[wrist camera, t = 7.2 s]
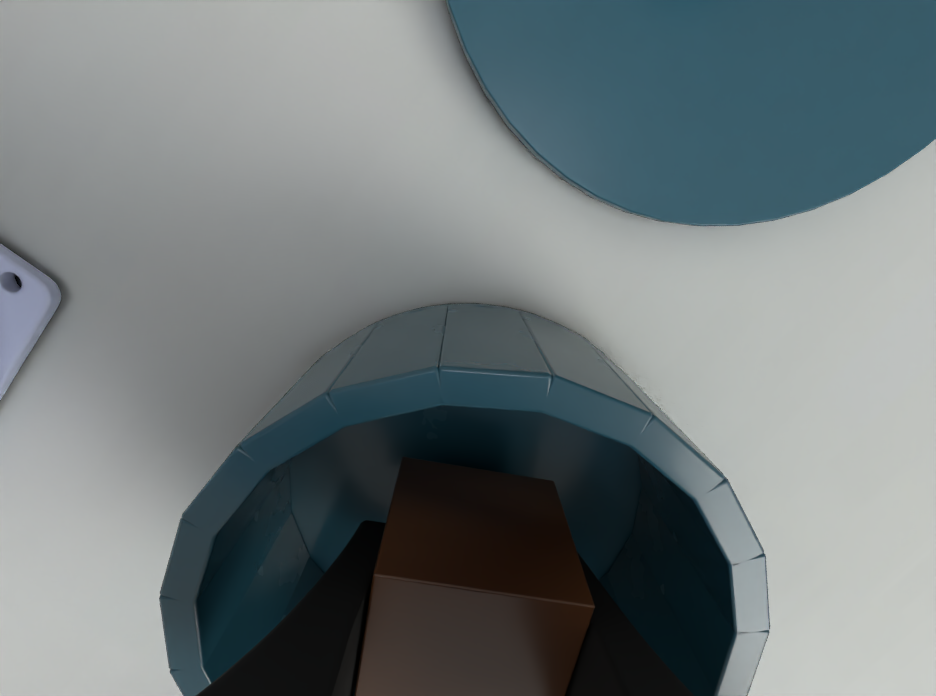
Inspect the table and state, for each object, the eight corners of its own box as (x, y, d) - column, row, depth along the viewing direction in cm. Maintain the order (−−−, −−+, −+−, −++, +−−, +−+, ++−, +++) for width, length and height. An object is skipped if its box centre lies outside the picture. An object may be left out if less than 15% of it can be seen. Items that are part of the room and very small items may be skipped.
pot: (198, 509, 14) (50, 679, 9) (440, 209, 12) (422, 212, 7) (483, 690, 17) (492, 905, 12) (737, 471, 14) (894, 623, 9)
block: (381, 580, 13) (346, 736, 9) (402, 455, 12) (372, 574, 8) (521, 600, 13) (544, 761, 9) (554, 480, 12) (596, 607, 8)
